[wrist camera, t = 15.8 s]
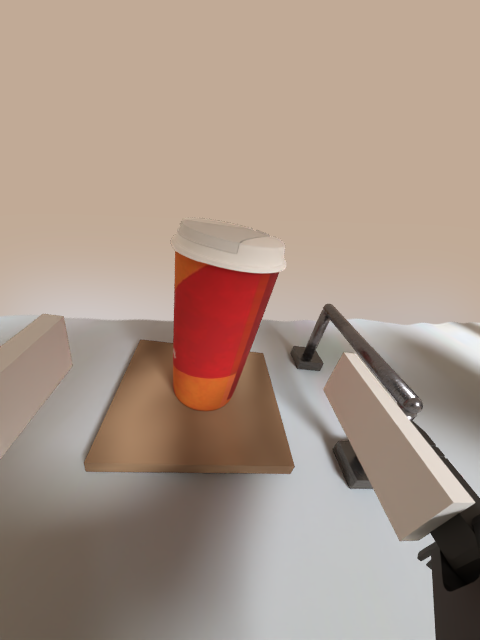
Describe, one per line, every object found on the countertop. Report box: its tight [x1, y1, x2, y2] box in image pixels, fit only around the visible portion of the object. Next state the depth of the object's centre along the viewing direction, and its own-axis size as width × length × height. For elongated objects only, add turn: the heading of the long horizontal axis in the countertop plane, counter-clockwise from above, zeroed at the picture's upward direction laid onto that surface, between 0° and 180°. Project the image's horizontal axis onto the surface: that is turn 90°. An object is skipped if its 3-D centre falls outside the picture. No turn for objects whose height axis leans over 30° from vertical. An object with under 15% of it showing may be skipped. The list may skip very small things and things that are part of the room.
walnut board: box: [84, 340, 295, 474], centre depth 22 cm, size 14×13×1 cm
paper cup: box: [171, 218, 286, 411], centre depth 18 cm, size 8×8×14 cm
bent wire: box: [291, 304, 423, 489], centre depth 23 cm, size 3×16×8 cm, turn 5°
